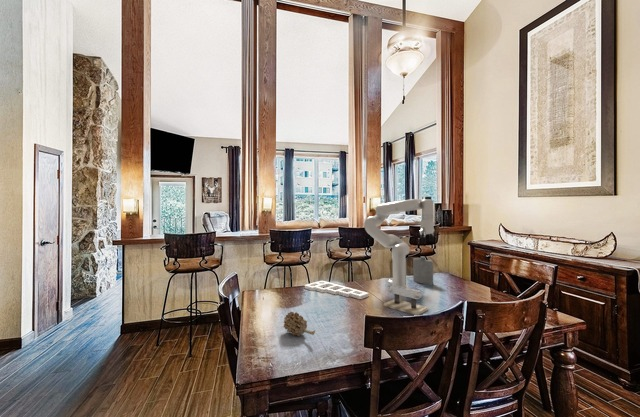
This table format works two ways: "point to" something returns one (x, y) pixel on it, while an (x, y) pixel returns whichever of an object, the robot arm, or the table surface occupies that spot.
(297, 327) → the pine cone
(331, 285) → the holder
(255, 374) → the table surface
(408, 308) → the peg board
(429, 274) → the hip flask
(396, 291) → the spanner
